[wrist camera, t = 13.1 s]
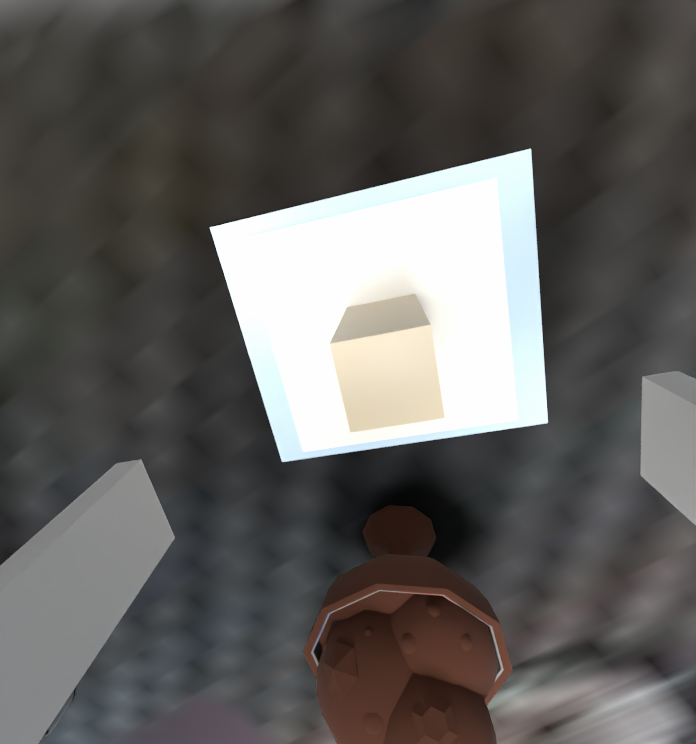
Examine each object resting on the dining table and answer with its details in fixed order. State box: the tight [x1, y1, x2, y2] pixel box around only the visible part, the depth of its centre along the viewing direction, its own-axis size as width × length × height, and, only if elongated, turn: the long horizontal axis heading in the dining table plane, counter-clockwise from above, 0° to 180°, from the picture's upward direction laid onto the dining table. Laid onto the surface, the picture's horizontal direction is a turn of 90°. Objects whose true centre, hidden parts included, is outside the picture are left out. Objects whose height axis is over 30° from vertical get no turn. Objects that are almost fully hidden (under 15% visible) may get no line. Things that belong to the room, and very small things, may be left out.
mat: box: [210, 149, 548, 462], centre depth 25 cm, size 18×16×1 cm
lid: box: [242, 178, 518, 452], centre depth 20 cm, size 14×14×9 cm
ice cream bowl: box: [303, 505, 512, 744], centre depth 23 cm, size 11×11×15 cm
